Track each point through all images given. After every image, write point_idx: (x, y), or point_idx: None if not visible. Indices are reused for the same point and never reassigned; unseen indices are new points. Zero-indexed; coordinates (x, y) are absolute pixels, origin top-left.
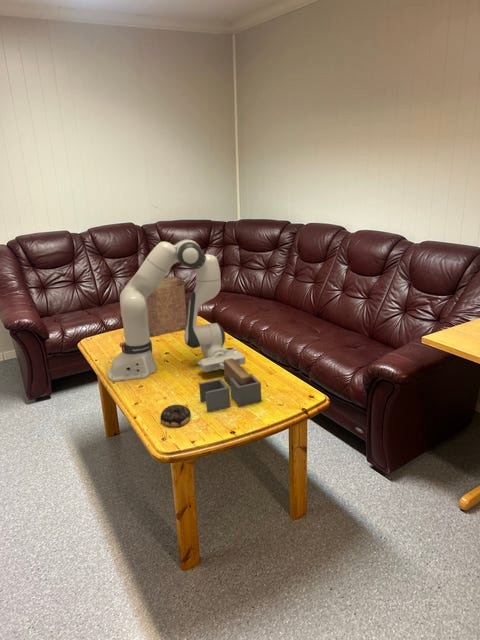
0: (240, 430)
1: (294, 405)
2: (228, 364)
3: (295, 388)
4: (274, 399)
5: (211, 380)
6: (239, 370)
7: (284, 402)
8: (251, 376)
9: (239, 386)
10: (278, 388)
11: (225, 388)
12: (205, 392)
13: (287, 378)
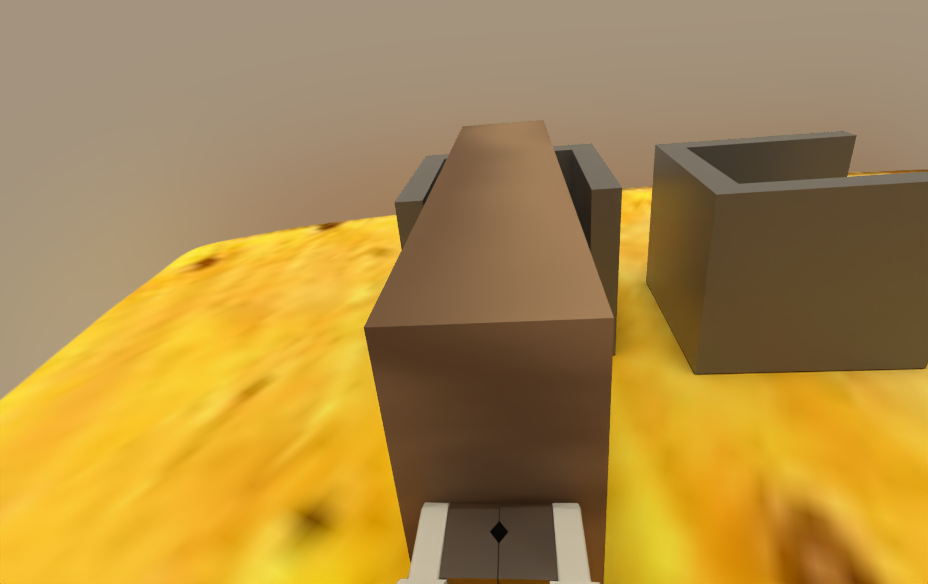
0: (633, 197)
1: (332, 241)
2: (571, 210)
3: (164, 318)
4: (366, 279)
5: (832, 187)
6: (501, 152)
7: (347, 258)
8: (425, 185)
9: (577, 147)
10: (234, 342)
11: (685, 144)
12: (853, 137)
13: (11, 423)
